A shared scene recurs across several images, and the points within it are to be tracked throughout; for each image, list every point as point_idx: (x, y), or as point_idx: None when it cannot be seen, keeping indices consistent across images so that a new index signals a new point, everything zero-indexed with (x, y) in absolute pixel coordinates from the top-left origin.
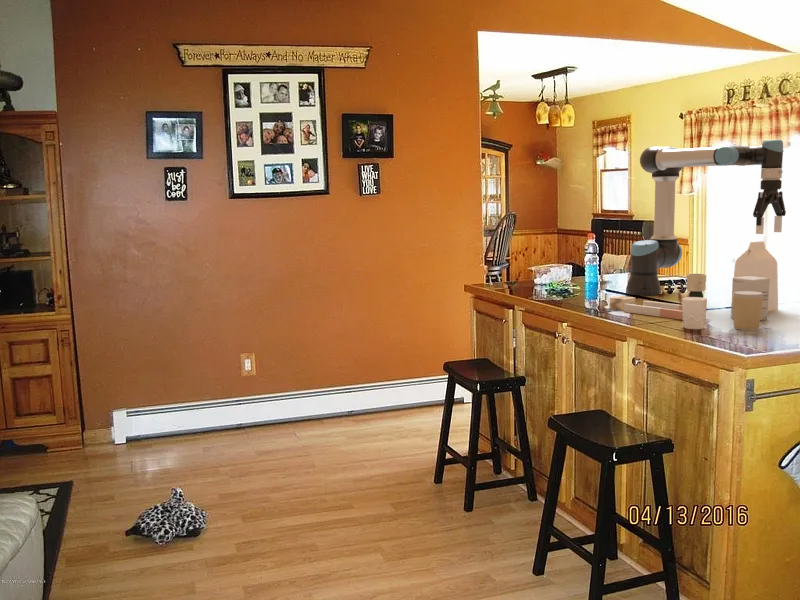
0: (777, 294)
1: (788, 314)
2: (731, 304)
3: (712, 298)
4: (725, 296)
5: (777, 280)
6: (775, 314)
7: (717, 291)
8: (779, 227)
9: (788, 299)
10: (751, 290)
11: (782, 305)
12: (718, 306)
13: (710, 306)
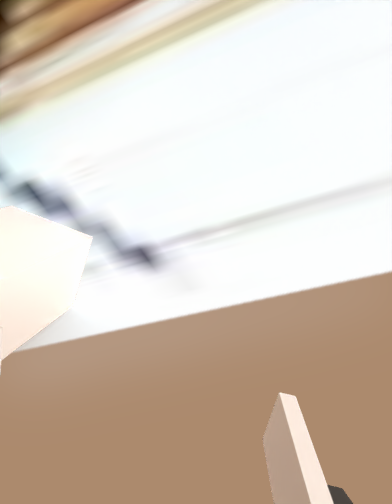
0: (48, 323)
1: None
2: (2, 208)
3: (180, 76)
4: (252, 96)
5: (21, 344)
6: None
7: (381, 11)
8: (274, 470)
9: (278, 282)
10: None
11: (153, 297)
12: (30, 160)
13: (15, 140)
